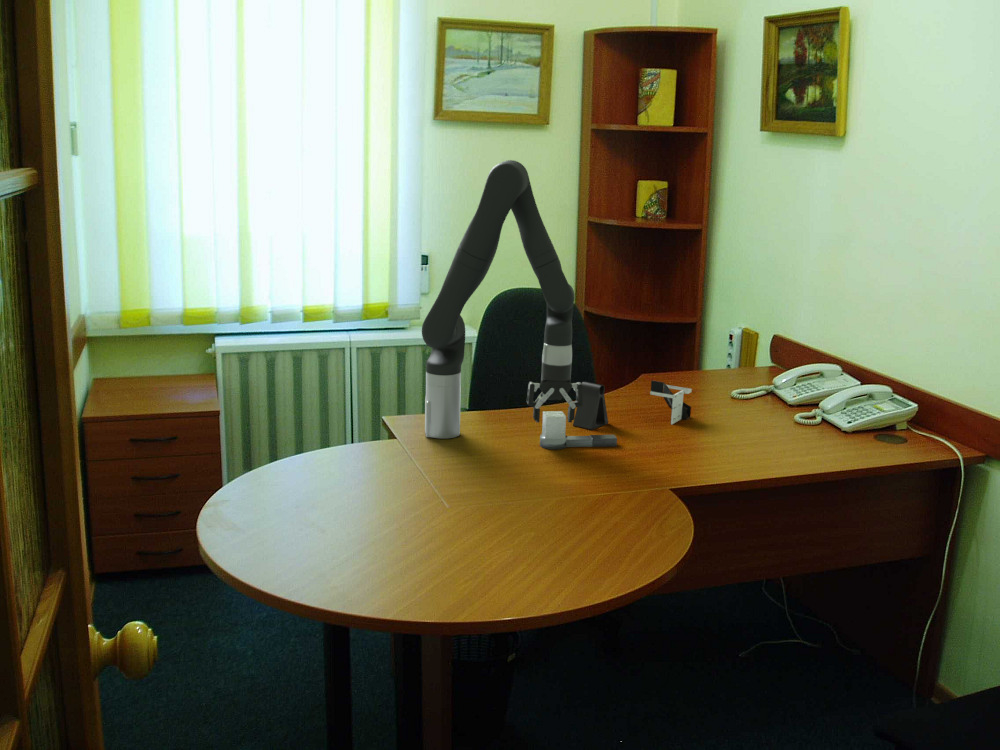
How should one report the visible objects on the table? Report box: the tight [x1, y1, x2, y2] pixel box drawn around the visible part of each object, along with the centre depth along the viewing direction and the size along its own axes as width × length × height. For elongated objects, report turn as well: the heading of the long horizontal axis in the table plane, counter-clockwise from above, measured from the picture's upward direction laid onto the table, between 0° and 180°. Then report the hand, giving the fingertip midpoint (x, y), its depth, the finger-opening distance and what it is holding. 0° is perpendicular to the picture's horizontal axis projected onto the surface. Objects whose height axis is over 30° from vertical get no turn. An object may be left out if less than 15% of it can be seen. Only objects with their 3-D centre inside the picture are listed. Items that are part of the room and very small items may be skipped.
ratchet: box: [539, 433, 618, 451], centre depth 248 cm, size 20×7×6 cm, turn 98°
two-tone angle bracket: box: [649, 379, 693, 425], centre depth 274 cm, size 9×10×12 cm
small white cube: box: [541, 410, 567, 439], centre depth 247 cm, size 5×5×6 cm
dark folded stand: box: [572, 381, 609, 431], centre depth 266 cm, size 9×6×12 cm, turn 141°
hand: (553, 421), depth 247 cm, fingers open, 8 cm apart
